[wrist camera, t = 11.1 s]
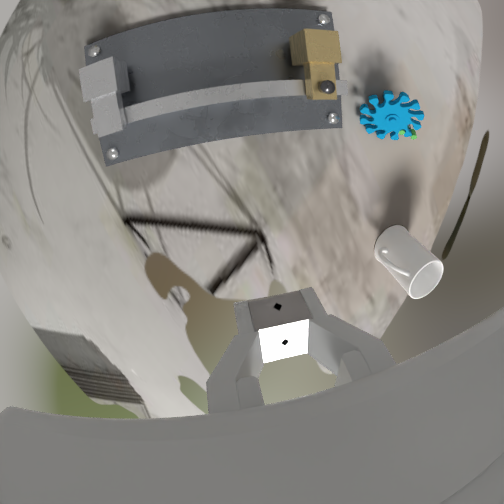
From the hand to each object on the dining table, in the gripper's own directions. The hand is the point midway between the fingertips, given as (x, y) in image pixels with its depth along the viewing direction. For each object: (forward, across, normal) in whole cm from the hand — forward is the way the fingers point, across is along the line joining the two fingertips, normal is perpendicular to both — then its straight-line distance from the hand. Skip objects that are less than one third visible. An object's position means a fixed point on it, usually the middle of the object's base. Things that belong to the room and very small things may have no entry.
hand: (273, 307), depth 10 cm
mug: (+30, -28, +19) cm, 46 cm away
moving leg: (+28, -12, -11) cm, 32 cm away
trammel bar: (+28, -1, -11) cm, 31 cm away
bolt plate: (+30, -1, -11) cm, 32 cm away
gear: (+30, -25, -4) cm, 39 cm away
